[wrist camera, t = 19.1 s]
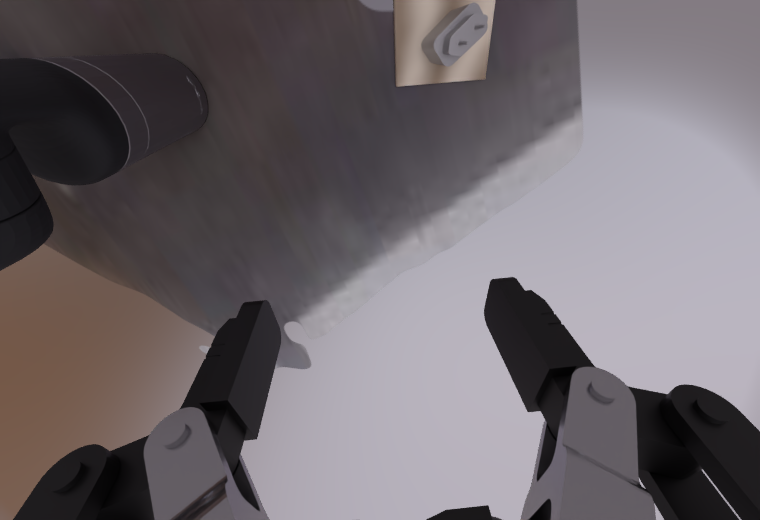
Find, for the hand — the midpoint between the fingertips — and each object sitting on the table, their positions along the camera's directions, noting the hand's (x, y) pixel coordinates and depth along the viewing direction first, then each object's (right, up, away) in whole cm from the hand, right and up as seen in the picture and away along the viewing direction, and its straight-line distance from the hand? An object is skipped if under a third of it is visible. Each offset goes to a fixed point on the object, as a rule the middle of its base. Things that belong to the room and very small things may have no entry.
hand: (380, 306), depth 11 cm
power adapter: (+8, +29, +25) cm, 40 cm away
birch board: (+8, +30, +26) cm, 40 cm away
